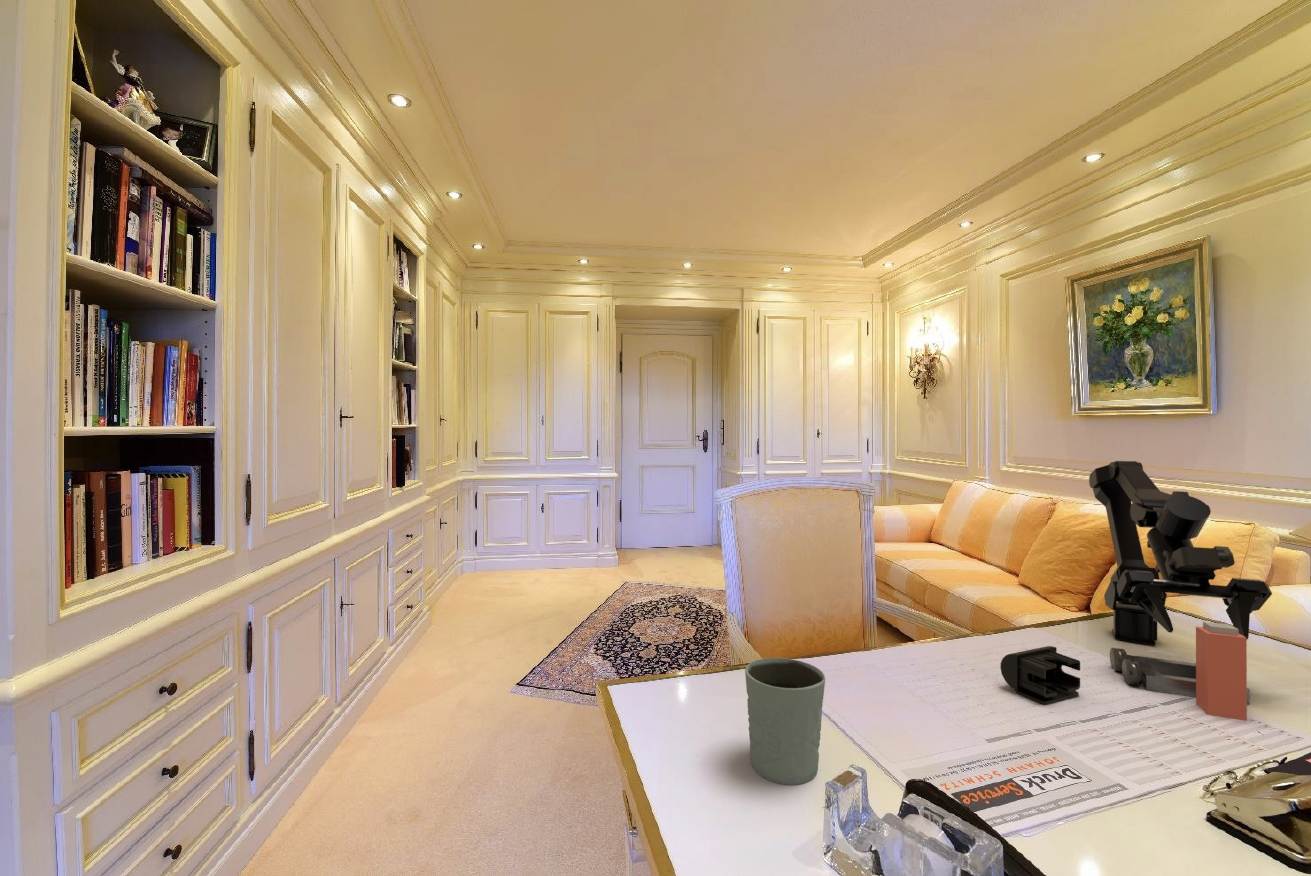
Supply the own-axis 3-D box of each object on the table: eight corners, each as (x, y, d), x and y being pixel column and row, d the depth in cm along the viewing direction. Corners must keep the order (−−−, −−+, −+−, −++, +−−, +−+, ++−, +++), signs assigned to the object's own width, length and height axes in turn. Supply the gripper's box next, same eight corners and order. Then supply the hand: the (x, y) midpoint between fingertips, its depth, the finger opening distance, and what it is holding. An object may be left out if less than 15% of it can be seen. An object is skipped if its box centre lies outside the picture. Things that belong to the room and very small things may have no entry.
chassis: (1109, 665, 103) (1109, 644, 103) (1216, 680, 97) (1215, 657, 97) (1130, 687, 94) (1130, 664, 94) (1249, 705, 88) (1249, 680, 88)
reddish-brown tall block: (1196, 704, 88) (1195, 620, 88) (1233, 710, 86) (1233, 624, 86) (1207, 714, 85) (1207, 627, 85) (1246, 720, 83) (1246, 631, 83)
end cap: (1038, 678, 97) (1038, 640, 97) (1082, 696, 91) (1082, 655, 91) (999, 688, 94) (999, 648, 94) (1042, 706, 87) (1042, 664, 87)
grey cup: (737, 777, 68) (738, 681, 68) (752, 736, 78) (752, 652, 78) (822, 796, 65) (822, 694, 65) (826, 750, 74) (827, 662, 74)
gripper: (1122, 524, 98) (1149, 602, 87) (1264, 531, 90) (1312, 617, 80) (1106, 560, 105) (1129, 636, 95) (1237, 569, 97) (1277, 653, 87)
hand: (1207, 635), depth 89 cm, fingers open, 9 cm apart
